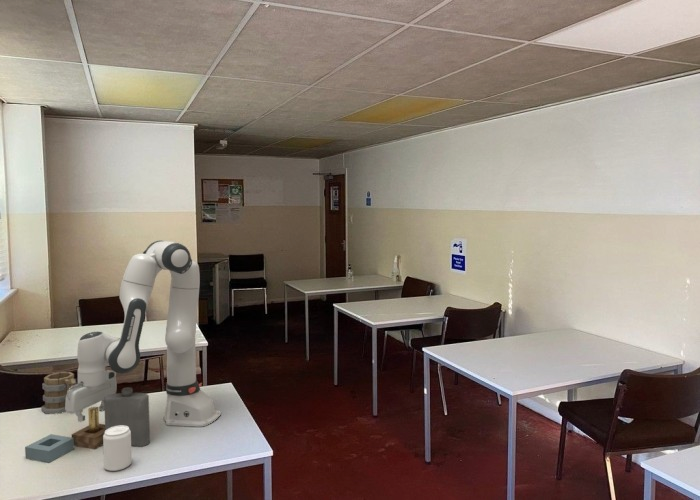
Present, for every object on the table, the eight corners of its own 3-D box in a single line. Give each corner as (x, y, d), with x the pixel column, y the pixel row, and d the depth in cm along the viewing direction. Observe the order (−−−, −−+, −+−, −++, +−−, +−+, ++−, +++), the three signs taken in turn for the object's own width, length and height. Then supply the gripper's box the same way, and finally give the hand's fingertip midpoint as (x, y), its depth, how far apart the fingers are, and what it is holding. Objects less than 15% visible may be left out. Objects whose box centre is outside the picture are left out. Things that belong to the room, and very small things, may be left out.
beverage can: (99, 467, 158) (97, 431, 157) (122, 457, 165) (121, 422, 164) (113, 475, 153) (112, 437, 153) (136, 464, 160) (135, 428, 159)
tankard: (38, 408, 206) (36, 373, 205) (70, 400, 215) (69, 366, 214) (56, 421, 193) (54, 384, 192) (90, 411, 203) (88, 376, 202)
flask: (152, 439, 178) (151, 385, 177) (146, 446, 172) (145, 391, 171) (110, 440, 177) (108, 386, 176) (103, 447, 171) (101, 392, 170)
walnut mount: (116, 436, 180) (115, 426, 180) (94, 449, 170) (94, 438, 170) (94, 433, 183) (93, 422, 182) (71, 445, 173) (71, 434, 173)
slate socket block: (74, 449, 170) (73, 437, 170) (49, 462, 161) (48, 451, 160) (51, 445, 173) (51, 434, 173) (25, 458, 164) (25, 446, 163)
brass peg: (101, 439, 177) (100, 407, 177) (94, 443, 174) (93, 410, 174) (94, 438, 178) (93, 406, 178) (87, 442, 175) (86, 409, 174)
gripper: (75, 388, 164) (75, 428, 165) (119, 370, 183) (119, 406, 184) (60, 386, 165) (60, 426, 166) (105, 368, 185) (106, 404, 186)
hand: (92, 415), depth 175 cm, fingers open, 8 cm apart
